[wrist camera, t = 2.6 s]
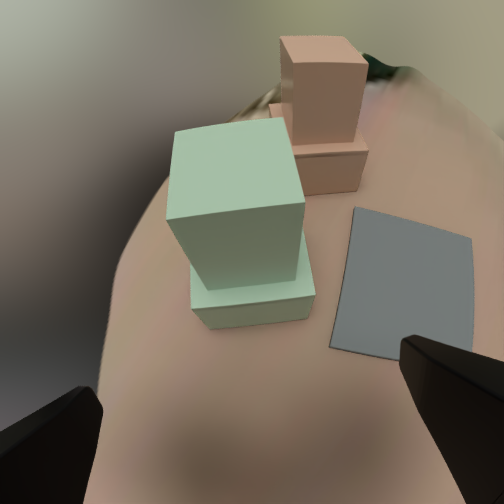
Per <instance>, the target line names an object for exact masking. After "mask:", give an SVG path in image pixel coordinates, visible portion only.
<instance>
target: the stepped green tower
mask: <svg viewBox="0 0 504 504" xmlns="http://www.w3.org/2000/svg"><path fill="white" fill-rule="evenodd" d="M304 210H305V198H304V194H303V190H302V186H301V182H300V178H299V174H298V170H297V167H296V163H295V159H294V155H293V151H292V148H291V144H290V140H289V137H288V133H287V130H286V126H285V123H284V119H283V117H278V118H267V119H257V120H248V121H240V122H233V123H225V124H218V125H212V126H206V127H200V128H194V129H189V130H183V131H178V132H175V137H174V145H173V153H172V161H171V170H170V179H169V189H168V200H167V212H166V221H167V223H168V224H169V226H170V228H171V230H172V231H173V233H174V235H175V237H176V238H177V240H178V242H179V244H180V245H181V247H182V249H183V251H184V252H185V254H186V256H187V257H188V259H189V261H190V280H191V309H192V310H193V312H194V313H195V314H196V315H197V316H198V317H199V318H200V319H201V320H202V321H203V322H204V323H205V325H206V326H207V327H208V328H209V329H221V328H232V327H242V326H251V325H261V324H269V323H278V322H286V321H293V320H301V319H307V317H308V315H309V312H310V309H311V306H312V304H313V301H314V298H315V295H316V294H315V288H314V283H313V277H312V272H311V267H310V262H309V257H308V251H307V246H306V242H305V237H304V232H303V218H304Z"/></svg>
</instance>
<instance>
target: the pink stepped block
mask: <svg viewBox="0 0 504 504" xmlns="http://www.w3.org/2000/svg"><path fill="white" fill-rule="evenodd" d="M280 63H281V103H279V104H269V118H278V117H283V119H284V123H285V126H286V130H287V133H288V137H289V140H290V144H291V148H292V151H293V155H294V159H295V163H296V167H297V170H298V174H299V178H300V182H301V186H302V190H303V194H304V196H308V195H318V194H329V193H341V192H353V191H357V189H358V186H359V182H360V179H361V176H362V172H363V169H364V166H365V162H366V159H367V155H368V152H369V150H368V148H367V146H366V144H365V142H364V140H363V138H362V136H361V134H360V132H359V130H358V128H357V123H358V119H359V114H360V109H361V104H362V98H363V93H364V88H365V82H366V76H367V71H368V65H369V64H368V63H367V61H366V60H365V59H364V58H363V57H362V56H361V55H360V54H359V52H358V51H357V50H356V49H355V48H354V47H353V46H352V45H351V44H350V43H349V42H348V41H347V40H346V39H345V38H344V37H341V36H280Z"/></svg>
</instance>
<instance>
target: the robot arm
mask: <svg viewBox="0 0 504 504" xmlns="http://www.w3.org/2000/svg"><path fill="white" fill-rule="evenodd" d="M399 366H400V370H401V372H402V375H403V377H404V379H405V381H406V384H407V386H408V388H409V391H410V393H411V396H412V398H413V400H414V403H415V405H416V407H417V410H418V412H419V414H420V416H421V418H422V419H423V421H424V423H425V425H426V426H427V428H428V430H429V432H430V434H431V436H432V437H433V439H434V441H435V443H436V445H437V447H438V449H439V450H440V452H441V454H442V456H443V458H444V460H445V462H446V464H447V466H448V468H449V470H450V472H451V474H452V476H453V478H454V480H455V482H456V484H457V486H458V488H459V490H460V492H461V494H462V496H463V498H464V500H465V502H466V504H504V362H503V361H500V360H496V359H493V358H490V357H486V356H483V355H480V354H476V353H473V352H470V351H467V350H463V349H460V348H457V347H454V346H451V345H447V344H444V343H441V342H438V341H435V340H432V339H429V338H426V337H422V336H419V335H416V334H413V335H410V336H407V337H404V338H402V340H401V343H400V357H399ZM102 417H103V407H102V405H101V403H100V401H99V400H98V398H97V396H96V394H95V393H94V391H93V389H92V388H90V387H89V386H78V387H76V388H74V389H73V390H71V391H69V392H68V393H66V394H64V395H62V396H61V397H59V398H57V399H56V400H54V401H52V402H51V403H49V404H47V405H46V406H44V407H42V408H40V409H39V410H37V411H35V412H34V413H32V414H30V415H28V416H27V417H25V418H23V419H21V420H20V421H18V422H16V423H14V424H13V425H11V426H9V427H7V428H6V429H4V430H3V431H0V504H83V502H84V497H85V493H86V489H87V485H88V481H89V477H90V473H91V469H92V465H93V462H94V458H95V454H96V449H97V444H98V438H99V433H100V427H101V422H102Z"/></svg>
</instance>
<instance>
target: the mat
mask: <svg viewBox="0 0 504 504" xmlns="http://www.w3.org/2000/svg"><path fill="white" fill-rule="evenodd" d="M473 329H474V267H473V251H472V240H471V238H468V237H465V236H462V235H459V234H455V233H452V232H449V231H446V230H442V229H439V228H435V227H432V226H428V225H425V224H421V223H418V222H414V221H411V220H407V219H403V218H399V217H396V216H392V215H388V214H384V213H380V212H376V211H372V210H368V209H364V208H360V207H356V206H355V208H354V212H353V220H352V227H351V234H350V241H349V247H348V254H347V260H346V266H345V272H344V277H343V283H342V288H341V294H340V299H339V304H338V309H337V313H336V318H335V323H334V328H333V332H332V336H331V341H330V345H329V347H330V348H334V349H339V350H344V351H348V352H353V353H358V354H363V355H368V356H374V357H379V358H385V359H390V360H396V361H399V357H400V343H401V340H402V338H404V337H407V336H410V335H413V334H416V335H419V336H422V337H426V338H429V339H432V340H435V341H438V342H441V343H444V344H447V345H451V346H454V347H457V348H460V349H463V350H467V351H470V352H472V344H473Z"/></svg>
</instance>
